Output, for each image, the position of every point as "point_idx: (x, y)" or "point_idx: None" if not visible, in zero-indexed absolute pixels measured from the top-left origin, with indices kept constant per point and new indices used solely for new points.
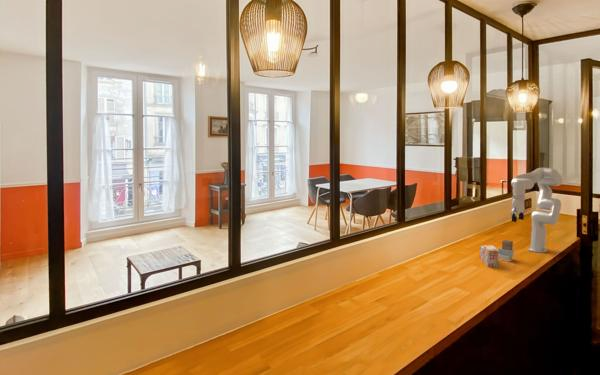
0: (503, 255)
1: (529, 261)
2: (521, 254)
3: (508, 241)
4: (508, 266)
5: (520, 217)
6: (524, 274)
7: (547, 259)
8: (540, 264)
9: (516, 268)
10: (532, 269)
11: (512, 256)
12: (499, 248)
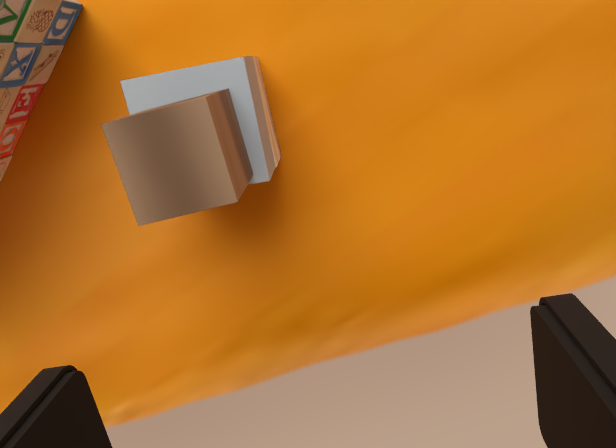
0: None
1: (374, 252)
2: (531, 64)
3: (163, 186)
4: (80, 266)
5: (560, 403)
6: None
7: (580, 282)
8: (380, 340)
9: (104, 324)
10: (203, 386)
11: None
12: (134, 78)
